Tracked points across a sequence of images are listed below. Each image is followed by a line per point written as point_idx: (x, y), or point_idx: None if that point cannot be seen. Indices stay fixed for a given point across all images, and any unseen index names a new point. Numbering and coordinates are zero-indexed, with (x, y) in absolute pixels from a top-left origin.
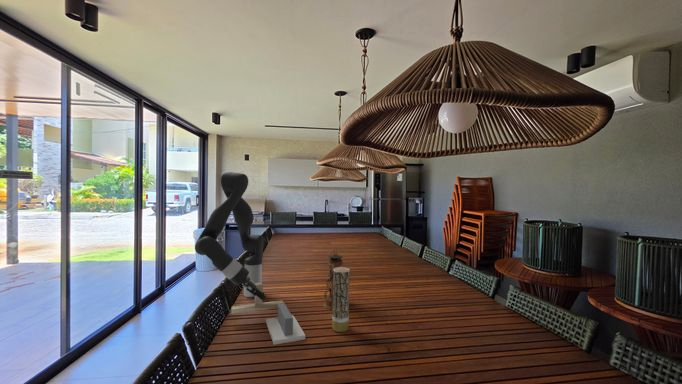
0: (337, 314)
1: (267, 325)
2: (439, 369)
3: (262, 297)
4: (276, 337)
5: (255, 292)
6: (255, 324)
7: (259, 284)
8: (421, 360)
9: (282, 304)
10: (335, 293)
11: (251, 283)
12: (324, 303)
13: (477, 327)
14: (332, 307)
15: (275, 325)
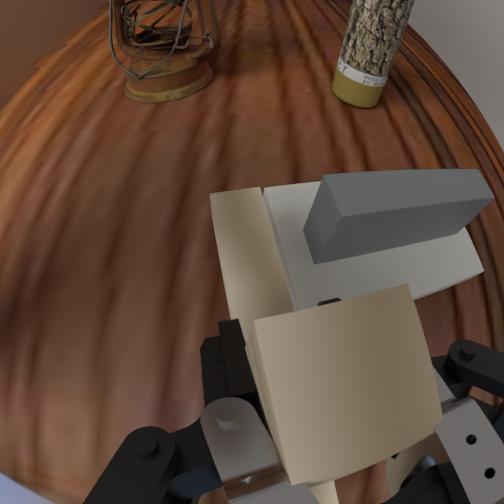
0: (391, 65)
1: None
2: (441, 68)
3: None
4: (468, 263)
5: (469, 389)
6: None
7: (390, 364)
8: (430, 68)
9: (344, 188)
10: (406, 13)
11: (497, 495)
12: (156, 93)
13: (321, 5)
14: (202, 79)
15: (386, 271)
